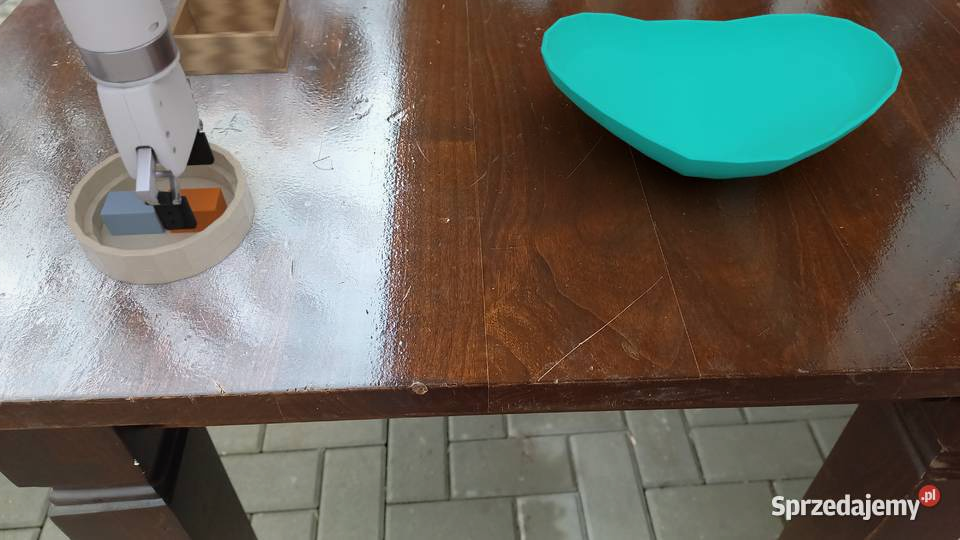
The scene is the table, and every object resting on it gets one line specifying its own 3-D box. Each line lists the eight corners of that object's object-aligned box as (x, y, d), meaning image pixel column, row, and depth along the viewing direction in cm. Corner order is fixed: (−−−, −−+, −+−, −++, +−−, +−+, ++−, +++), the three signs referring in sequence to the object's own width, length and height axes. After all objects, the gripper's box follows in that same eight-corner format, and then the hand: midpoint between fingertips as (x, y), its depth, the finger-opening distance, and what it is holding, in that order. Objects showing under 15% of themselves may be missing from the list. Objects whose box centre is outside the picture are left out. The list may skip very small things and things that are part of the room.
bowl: (64, 292, 70) (41, 259, 66) (112, 174, 81) (94, 141, 77) (242, 284, 71) (229, 251, 67) (264, 169, 82) (254, 135, 78)
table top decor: (540, 223, 77) (552, 127, 67) (524, 78, 95) (532, -15, 85) (890, 221, 78) (953, 127, 68) (809, 79, 96) (850, -13, 86)
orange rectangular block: (171, 233, 74) (161, 212, 72) (177, 210, 77) (168, 189, 74) (223, 231, 75) (214, 210, 72) (228, 208, 77) (220, 187, 74)
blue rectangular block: (111, 235, 74) (99, 214, 72) (120, 212, 76) (108, 191, 74) (164, 233, 74) (154, 212, 72) (171, 210, 77) (161, 189, 74)
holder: (178, 75, 94) (164, 38, 90) (193, 33, 101) (181, -4, 97) (286, 72, 95) (278, 35, 91) (294, 30, 102) (287, -6, 97)
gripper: (112, -2, 65) (172, 142, 78) (51, 111, 54) (133, 257, 67) (193, -4, 65) (240, 140, 78) (150, 107, 54) (213, 253, 67)
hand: (191, 194), depth 72 cm, fingers open, 9 cm apart
